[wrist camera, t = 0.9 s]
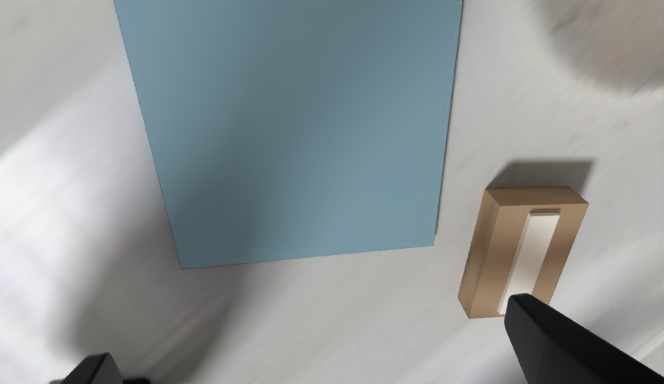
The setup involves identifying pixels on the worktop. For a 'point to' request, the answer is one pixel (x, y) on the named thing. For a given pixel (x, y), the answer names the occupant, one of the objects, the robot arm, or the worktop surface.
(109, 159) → the worktop surface
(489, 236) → the brown cardboard box
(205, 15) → the mat
